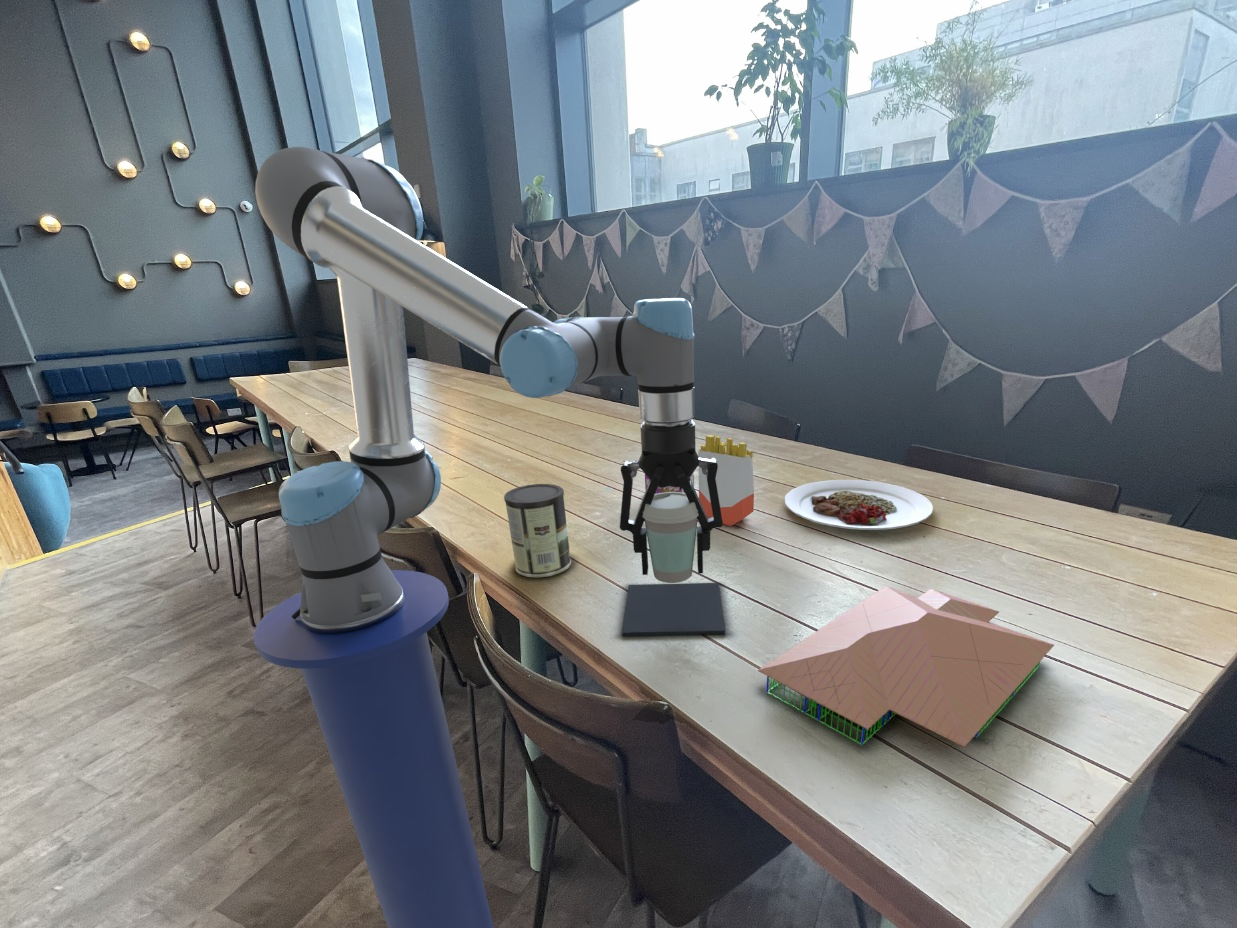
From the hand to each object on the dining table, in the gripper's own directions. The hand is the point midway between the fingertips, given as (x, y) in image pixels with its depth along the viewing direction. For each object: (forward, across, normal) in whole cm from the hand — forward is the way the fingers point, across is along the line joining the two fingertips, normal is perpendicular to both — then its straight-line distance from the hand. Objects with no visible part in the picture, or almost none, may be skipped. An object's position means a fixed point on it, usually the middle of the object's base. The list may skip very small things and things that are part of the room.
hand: (672, 570), depth 93 cm
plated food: (+7, -39, -41) cm, 57 cm away
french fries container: (+7, -11, -37) cm, 39 cm away
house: (+7, -30, +18) cm, 36 cm away
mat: (+7, 0, 0) cm, 7 cm away
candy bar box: (+7, +1, -51) cm, 51 cm away
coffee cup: (+1, 0, 0) cm, 1 cm away
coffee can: (+7, +24, -17) cm, 30 cm away
